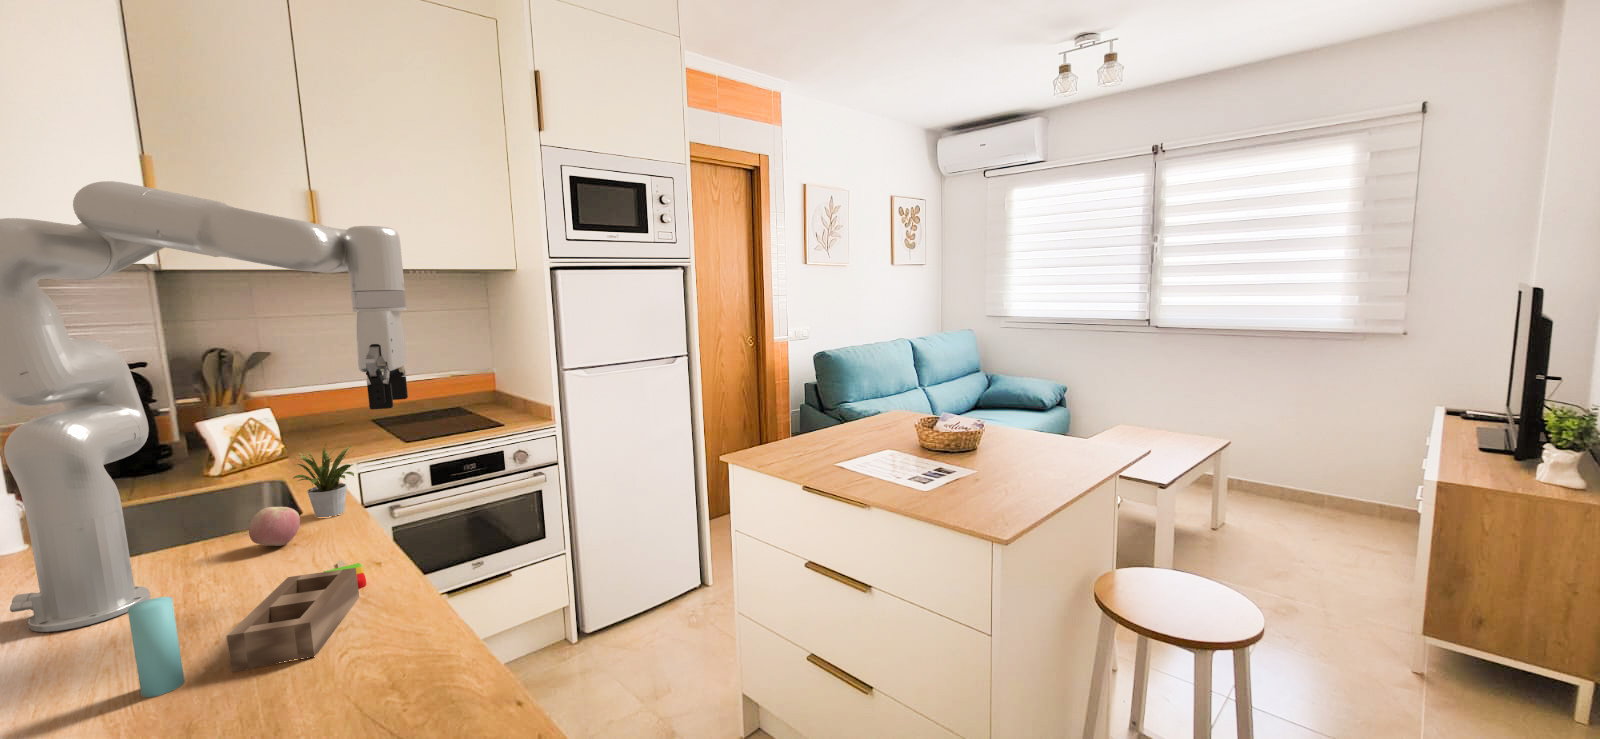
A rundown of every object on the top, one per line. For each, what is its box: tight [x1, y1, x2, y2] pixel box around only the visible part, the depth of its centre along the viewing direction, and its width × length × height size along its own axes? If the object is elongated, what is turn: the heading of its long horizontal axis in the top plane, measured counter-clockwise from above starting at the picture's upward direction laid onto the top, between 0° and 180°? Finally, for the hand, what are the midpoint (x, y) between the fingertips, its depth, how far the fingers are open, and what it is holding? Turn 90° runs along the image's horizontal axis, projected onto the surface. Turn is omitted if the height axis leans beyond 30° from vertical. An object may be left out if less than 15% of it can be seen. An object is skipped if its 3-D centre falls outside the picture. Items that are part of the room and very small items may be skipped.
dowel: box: [127, 596, 185, 698], centre depth 78 cm, size 4×4×11 cm
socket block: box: [226, 568, 360, 673], centre depth 91 cm, size 9×18×5 cm, turn 19°
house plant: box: [276, 443, 356, 517], centre depth 139 cm, size 14×14×16 cm
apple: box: [248, 506, 301, 547], centre depth 123 cm, size 8×8×8 cm
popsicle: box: [323, 559, 367, 590], centre depth 109 cm, size 6×15×2 cm, turn 39°
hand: (389, 403), depth 107 cm, fingers open, 9 cm apart
